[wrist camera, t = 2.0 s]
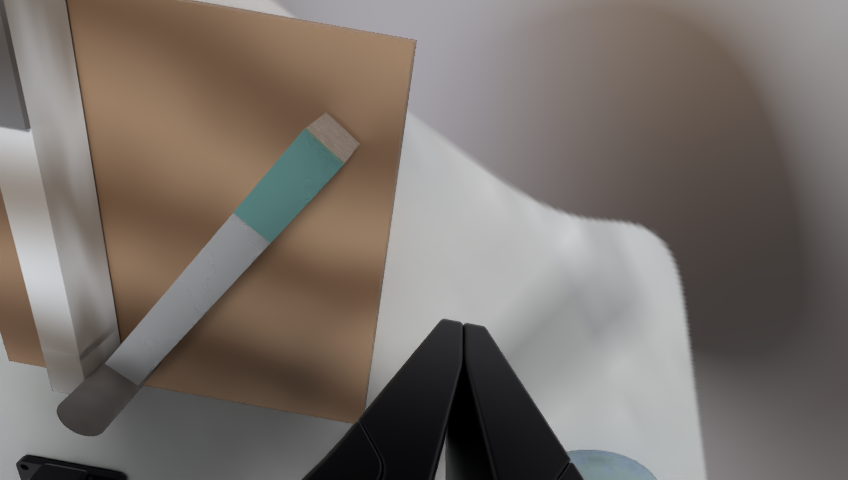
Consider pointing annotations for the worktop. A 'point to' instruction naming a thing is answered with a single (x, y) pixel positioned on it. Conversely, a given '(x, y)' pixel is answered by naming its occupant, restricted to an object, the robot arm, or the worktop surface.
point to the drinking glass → (608, 466)
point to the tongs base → (190, 197)
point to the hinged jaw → (236, 244)
